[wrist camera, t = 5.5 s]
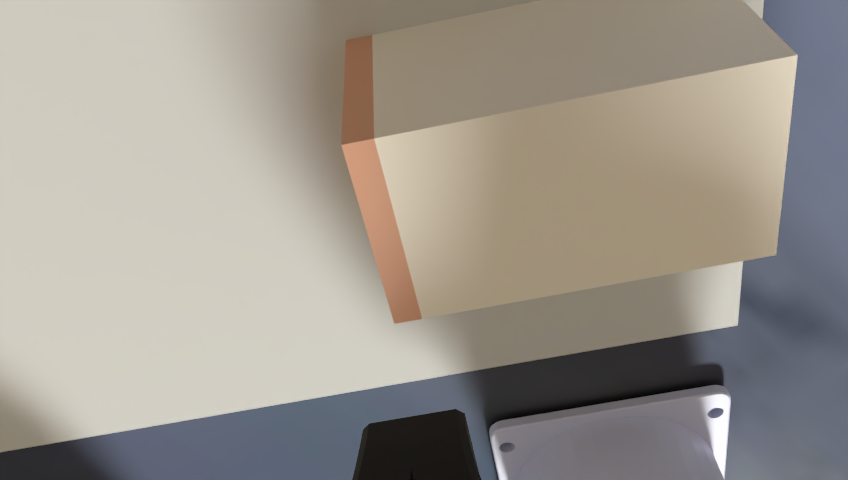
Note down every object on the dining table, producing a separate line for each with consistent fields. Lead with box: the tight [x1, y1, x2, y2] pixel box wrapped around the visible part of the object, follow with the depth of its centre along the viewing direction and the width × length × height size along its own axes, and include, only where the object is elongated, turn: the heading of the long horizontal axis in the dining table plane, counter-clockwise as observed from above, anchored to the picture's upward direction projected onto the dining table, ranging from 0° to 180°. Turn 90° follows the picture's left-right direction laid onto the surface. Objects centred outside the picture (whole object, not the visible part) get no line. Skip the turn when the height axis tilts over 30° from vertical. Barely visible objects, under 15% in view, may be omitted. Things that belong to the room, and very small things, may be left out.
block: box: [341, 0, 798, 324], centre depth 17 cm, size 4×4×8 cm
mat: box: [0, 0, 764, 452], centre depth 19 cm, size 18×24×1 cm
